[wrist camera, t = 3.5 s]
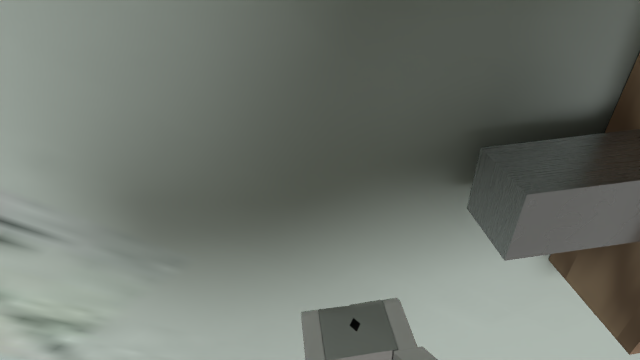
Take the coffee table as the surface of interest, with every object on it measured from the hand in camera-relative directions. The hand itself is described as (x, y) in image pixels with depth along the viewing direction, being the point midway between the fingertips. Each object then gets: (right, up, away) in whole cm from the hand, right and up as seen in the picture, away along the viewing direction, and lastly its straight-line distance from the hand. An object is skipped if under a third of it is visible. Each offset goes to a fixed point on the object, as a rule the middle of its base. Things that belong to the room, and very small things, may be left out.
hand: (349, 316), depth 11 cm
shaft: (+14, +5, +5) cm, 15 cm away
